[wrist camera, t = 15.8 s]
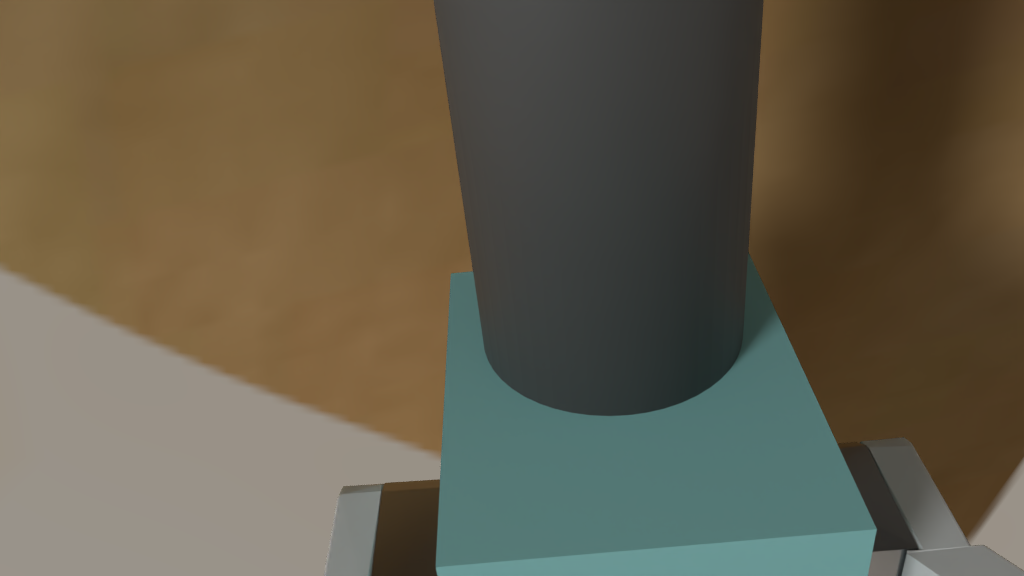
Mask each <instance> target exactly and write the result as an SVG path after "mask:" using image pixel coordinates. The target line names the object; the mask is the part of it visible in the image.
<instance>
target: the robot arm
mask: <svg viewBox="0 0 1024 576" xmlns="http://www.w3.org/2000/svg"><path fill="white" fill-rule="evenodd" d="M838 447H839V449H840V451H841V453H842V455H843V457H844V459H845V462H846V464H847V466H848V468H849V470H850V472H851V475H852V477H853V479H854V481H855V483H856V485H857V487H858V490H859V492H860V494H861V496H862V498H863V500H864V503H865V505H866V507H867V509H868V511H869V513H870V516H871V518H872V520H873V522H874V524H875V526H876V528H877V531H876V536H875V541H874V546H873V551H872V557H871V562H870V567H869V572H868V576H1024V571H1023V570H1022V569H1020V568H1019V567H1017V566H1016V565H1014V564H1012V563H1011V562H1009V561H1008V560H1006V559H1005V558H1003V557H1002V556H1000V555H999V554H997V553H996V552H994V551H992V550H991V549H989V548H988V547H986V546H985V545H975V546H970V544H969V542H968V540H967V539H966V537H965V535H964V533H963V532H962V530H961V528H960V526H959V525H958V523H957V521H956V519H955V518H954V516H953V514H952V513H951V511H950V509H949V507H948V506H947V504H946V502H945V500H944V499H943V497H942V495H941V493H940V492H939V490H938V488H937V486H936V485H935V483H934V481H933V479H932V478H931V476H930V474H929V472H928V471H927V469H926V467H925V466H924V464H923V462H922V460H921V459H920V457H919V455H918V453H917V452H916V450H915V448H914V446H913V445H912V443H911V442H909V441H908V440H907V439H905V438H904V437H902V438H892V439H881V440H871V441H861V442H860V443H858V442H849V443H839V444H838ZM439 492H440V480H425V481H409V482H393V483H385V484H374V485H358V486H344V487H343V488H342V490H341V492H340V494H339V496H338V499H337V505H336V510H335V516H334V522H333V527H332V532H331V538H330V544H329V549H328V555H327V561H326V567H325V572H324V576H437V572H436V549H437V530H438V511H439Z"/></svg>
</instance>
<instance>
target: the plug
mask: <svg viewBox="0 0 1024 576" xmlns="http://www.w3.org/2000/svg"><path fill="white" fill-rule="evenodd" d="M434 6H435V13H436V20H437V26H438V33H439V40H440V47H441V54H442V61H443V68H444V75H445V82H446V88H447V95H448V102H449V109H450V116H451V123H452V130H453V137H454V143H455V150H456V157H457V164H458V171H459V178H460V185H461V192H462V198H463V205H464V212H465V219H466V226H467V233H468V240H469V247H470V253H471V260H472V267H473V272H463V273H452V274H451V282H450V301H449V321H448V340H447V359H446V378H445V397H444V416H443V435H442V454H441V473H440V474H441V475H440V492H439V511H438V530H437V549H436V572H437V576H868V572H869V567H870V562H871V557H872V551H873V546H874V541H875V536H876V531H877V528H876V526H875V524H874V522H873V520H872V518H871V516H870V513H869V511H868V509H867V507H866V505H865V503H864V500H863V498H862V496H861V494H860V492H859V490H858V487H857V485H856V483H855V481H854V479H853V477H852V475H851V472H850V470H849V468H848V466H847V464H846V462H845V459H844V457H843V455H842V453H841V451H840V449H839V447H838V444H837V442H836V440H835V438H834V436H833V434H832V431H831V429H830V427H829V425H828V423H827V421H826V418H825V416H824V414H823V412H822V410H821V408H820V406H819V403H818V401H817V399H816V397H815V395H814V393H813V390H812V388H811V386H810V384H809V382H808V380H807V378H806V375H805V373H804V371H803V369H802V367H801V365H800V362H799V360H798V358H797V356H796V354H795V352H794V349H793V347H792V345H791V343H790V341H789V339H788V337H787V334H786V332H785V330H784V328H783V326H782V324H781V321H780V319H779V317H778V315H777V313H776V311H775V309H774V306H773V304H772V302H771V300H770V298H769V296H768V293H767V291H766V289H765V287H764V285H763V283H762V280H761V278H760V276H759V274H758V272H757V270H756V268H755V265H754V263H753V261H752V259H751V257H750V255H749V252H748V247H749V230H750V214H751V197H752V181H753V164H754V148H755V131H756V115H757V98H758V82H759V65H760V49H761V32H762V16H763V0H434Z"/></svg>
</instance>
